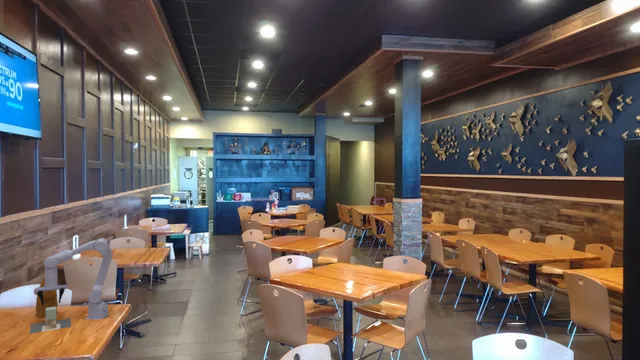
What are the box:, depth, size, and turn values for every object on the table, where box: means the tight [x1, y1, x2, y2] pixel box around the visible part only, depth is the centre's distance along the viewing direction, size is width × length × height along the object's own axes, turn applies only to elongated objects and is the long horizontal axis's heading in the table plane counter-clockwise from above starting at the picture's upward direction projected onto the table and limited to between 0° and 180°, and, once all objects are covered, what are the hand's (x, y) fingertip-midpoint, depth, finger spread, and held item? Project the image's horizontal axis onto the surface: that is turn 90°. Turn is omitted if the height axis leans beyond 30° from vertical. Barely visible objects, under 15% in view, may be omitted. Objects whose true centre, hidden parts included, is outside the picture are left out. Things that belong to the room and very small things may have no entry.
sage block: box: [45, 307, 57, 321], centre depth 217 cm, size 5×5×5 cm
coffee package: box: [35, 275, 59, 319], centre depth 238 cm, size 10×12×22 cm
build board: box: [29, 318, 72, 335], centre depth 220 cm, size 18×15×1 cm
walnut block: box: [45, 318, 57, 330], centre depth 217 cm, size 5×5×5 cm
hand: (51, 303), depth 226 cm, fingers open, 7 cm apart
